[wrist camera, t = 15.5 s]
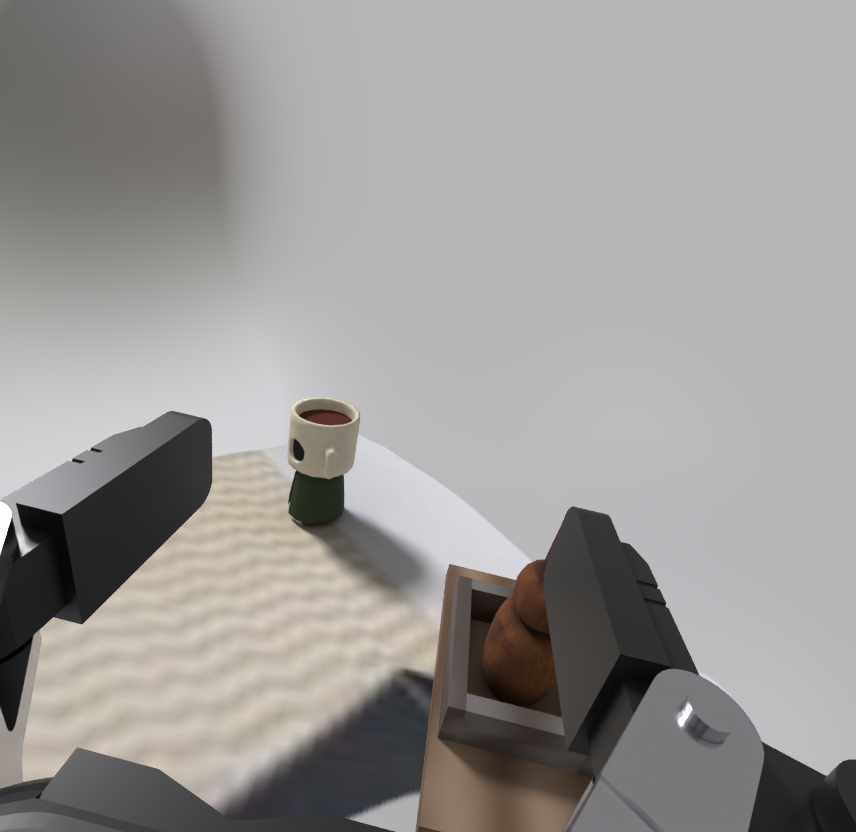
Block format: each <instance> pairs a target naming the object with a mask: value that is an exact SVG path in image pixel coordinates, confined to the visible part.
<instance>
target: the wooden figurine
mask: <svg viewBox="0 0 856 832" xmlns="http://www.w3.org/2000/svg"><path fill="white" fill-rule="evenodd" d="M560 528H561V527H560ZM559 530H560V529H559ZM558 533H559V531H558ZM558 533H557V535H558ZM557 535H556V538H557ZM556 538H555V539H554V541H553V543H552V546H551V548H550V550H549V552H548V555H547V556H546V559H545V560H536V561H534V562H532V563H530V564H528V565H527V566H526V567H525V568H524V569H523V570H522V571H521V572H520V574H519V575H518V577H517V580H516V582H515V585H514V589H513V594H512V595H511V596H509V597H508V598H507V599H506V600H505V601H504V603H503V604H502V605H501V607H500V608H499V610H498V611H497V613H496V615H495V617H494V619H493V622H492V624H491V626H490V629H489V631H488V634H487V637H486V640H485V645H484V652H483V671H484V674H485V677H486V680H487V682H488V684H489V687H490V688H491V689H492V690H493V692H494V693H495V694H496V695H497V696H498V697H499V698H501V699H502V700H504V701H506V702H507V703H509V704H512V705H516V706H519V707H521V706H527V705H531V704H535V703H537V702H539V701H540V700H542V699H543V698H544V697H545V696H546V695H547V694H548V693H549V691H550V690H551V688H552V687H553V685H554V684H555V682H556V680H557V679H556V672H555V665H554V659H553V652H552V645H551V638H550V631H549V625H548V618H547V611H546V604H545V597H544V590H543V580H544V572H545V567H546V563H547V560H548V558H549V555H550V553H551V550H552V548H553V545H554V543H555V540H556Z"/></svg>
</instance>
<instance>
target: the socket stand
mask: <svg viewBox="0 0 856 832" xmlns="http://www.w3.org/2000/svg"><path fill="white" fill-rule="evenodd" d="M515 582H516V580H513V579H509V578H505V577H501V576H496V575H492V574H488V573H484V572H480V571H476V570H472V569H468V568H464V567H459V566H455V565H451V564H449V568H448V571H447V575H446V583H445V591H444V599H443V608H442V616H441V624H440V633H439V641H438V649H437V658H436V666H435V674H434V683H433V691H432V699H431V707H430V716H429V724H428V732H427V741H426V749H425V757H424V766H423V774H422V782H421V791H420V799H419V808H418V816H417V824H416V832H562V830H563V828H564V826H565V825H566V823H567V821H568V819H569V818H570V816H571V814H572V812H573V811H574V809H575V807H576V805H577V804H578V802H579V800H580V798H581V797H582V795H583V793H584V792H585V790H586V788H587V786H588V785H589V783H590V781H591V780H592V778H593V777H594V770H593V764H592V759H591V756H587V755H583V754H579V753H575V752H571V751H567V747H566V740H565V734H564V727H563V720H562V713H561V706H560V700H559V693H558V686H557V680H556V682H555V684H554V685H553V687H552V688H551V690H550V691H549V693H548V694H547V695H546V696H545V697H544V698H543V699H542V700H540V701H539V702H537V703H535V704H531V705H527V706H521V707H519V706H516V705H512V704H509V703H507V702H506V701H504V700H502V699H501V698H499V697H498V696H497V695H496V694H495V693H494V692H493V690H492V689H491V688H490V687H489V684H488V682H487V680H486V677H485V674H484V671H483V652H484V645H485V640H486V637H487V634H488V631H489V629H490V626H491V624H492V622H493V619H494V617H495V615H496V613H497V611H498V610H499V608H500V607H501V605H502V604H503V603H504V601H505V600H506V599H507V598H508V597H509V596H511V595H512V594H513V589H514V585H515Z"/></svg>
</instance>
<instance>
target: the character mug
mask: <svg viewBox="0 0 856 832" xmlns="http://www.w3.org/2000/svg"><path fill="white" fill-rule="evenodd" d="M359 423H360V412H359V411H358V410H357V409H356V408H355V407H354V406H352V405H351V404H349V403H347V402H344V401H340V400H337V399H332V398H324V397H319V398H308V399H304V400H300V401H299V402H297V403H295V404H294V405H293V406H292V408H291V419H290V432H289V440H288V462H289V465H291V466H292V467H293V468H294V469H295V470H296V472H295V475H294V479H293V483H292V487H291V491H290V496H289V501H288V504H289V502H290V506H289V514H290V515H291V516H292V517H293V518H294V519H295V520H298V521H300V522H303V523H306V524H312V523H322V522H327V521H331V520H334V519H335V518H337V517H339V516H341V514H342V512H343V510H344V476H343V474H345V473H347V472H348V471H349V470H350V469H351V468H352V466H353V463H354V458H355V451H356V444H357V437H358V430H359Z"/></svg>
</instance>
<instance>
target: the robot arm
mask: <svg viewBox="0 0 856 832" xmlns="http://www.w3.org/2000/svg"><path fill="white" fill-rule="evenodd" d="M211 484H212V429H211V424H210V422H209V421H208V420H207V419H205V418H200V417H196V416H191V415H188V414H183V413H179V412H175V411H170V412H167V413H165V414H164V415H162V416H160V417H159V418H157V419H155V420H154V421H152V422H150V423H149V424H147V425H145V426H144V427H138V428H135V429H132V430H129V431H125V432H122V433H119V434H115V435H113V436H111V437H109V438H107V439H106V440H104V441H102V442H100V443H99V444H97V445H95V446H93V447H92V448H91V450H90V451H88V450H86V451H84V452H83V453H81V454H79V455H78V456H76V457H74V458H73V460H72V461H71V462H70V461H67V462H65V463H64V464H62V465H60V466H58V467H57V468H55V469H53V470H51V471H50V472H48V473H46V474H44V475H43V476H41V477H39V478H37V479H36V480H34V481H32V482H30V483H29V484H27V485H25V486H24V487H22V488H20V489H18V490H16V491H15V492H13V493H11V494H9V495H8V496H6V497H4V498H2V499H1V500H0V832H394V831H390V830H387V829H383V828H379V827H375V826H371V825H368V824H364V823H360V822H356V821H353V820H349V819H345V818H341V817H338V816H334V815H319V816H304V817H288V818H272V819H257V820H233V819H229V818H228V817H226V816H224V815H222V814H221V813H220V812H218V811H217V810H215V809H214V808H213V807H211V806H210V805H208V804H207V803H206V802H204V801H203V800H201V799H200V798H198V797H197V796H196V795H194V794H193V793H191V792H190V791H189V790H187V789H186V788H184V787H183V786H182V785H180V784H179V783H177V782H176V781H175V780H173V779H172V778H170V777H169V776H168V775H166V774H165V773H163V772H162V771H161V770H159V769H156V768H153V767H149V766H145V765H141V764H137V763H134V762H130V761H126V760H122V759H119V758H115V757H111V756H107V755H103V754H100V753H96V752H92V751H88V750H85V749H81V748H76V750H75V751H74V752H73V753H72V755H71V756H70V757H69V759H68V760H67V761H66V762H65V764H64V765H63V766H62V767H61V769H60V770H59V771H58V773H57V774H56V775H55V776H54V777H50V778H44V779H38V780H33V781H27V782H23V773H22V749H23V741H24V735H25V730H26V724H27V719H28V713H29V708H30V702H31V697H32V691H33V686H34V680H35V675H36V669H37V664H38V658H39V653H40V647H41V634H40V629H41V628H42V627H43V626H44V625H45V624H46V623H47V622H48V621H50V620H51V619H52V618H53V617H55V618H59V619H63V620H67V621H71V622H75V623H79V624H83V623H84V622H85V621H86V620H87V619H88V618H89V617H90V616H91V615H92V614H93V613H94V612H95V611H96V610H97V609H98V608H99V607H100V606H101V605H102V604H103V603H104V602H105V601H106V600H107V599H108V598H109V597H110V596H111V595H112V594H113V593H114V592H115V591H116V590H117V589H118V588H119V587H120V586H121V585H122V584H123V583H124V582H125V581H126V580H127V579H128V578H129V577H130V576H131V575H132V574H133V573H134V572H135V571H136V570H137V569H138V568H139V567H140V566H141V565H142V564H143V563H144V562H145V561H146V560H147V559H148V558H149V557H150V556H151V555H152V554H153V553H154V552H155V551H156V550H158V549H159V548H160V547H161V546H162V545H163V544H164V543H165V542H166V541H167V540H168V539H169V538H170V537H171V536H172V535H173V534H174V533H175V532H176V531H177V530H178V529H179V528H180V527H181V526H182V525H183V524H184V523H185V522H186V521H187V520H188V519H189V518H190V517H191V516H192V515H193V514H194V513H195V512H196V511H197V510H198V509H199V508H200V507H201V506H202V504H203V503H204V502H205V500H206V498H207V496H208V494H209V491H210V488H211ZM657 586H658V585H657V583H656V580H655V578H654V576H653V574H652V572H651V570H650V567H649V565H648V564H647V563H646V562H645V560H644V559H643V558H642V557H641V556H640V555H639V554H638V553H637V552H636V550H635V549H634V548H633V547H632V546H631V545H630V544H627V543H622V542H620V540H619V537H618V535H617V533H616V530H615V528H614V525H613V523H612V521H611V518H610V517H609V515H607V514H603V513H599V512H594V511H590V510H586V509H582V508H577V507H571V508H570V509H569V510H568V511H567V513H566V515H565V518H564V520H563V523H562V525H561V528H560V530H559V533H558V535H557V538H556V540H555V543H554V545H553V548H552V550H551V553H550V555H549V558H548V560H547V563H546V567H545V572H544V580H543V590H544V597H545V604H546V611H547V618H548V625H549V631H550V638H551V645H552V652H553V659H554V665H555V672H556V679H557V686H558V693H559V700H560V706H561V713H562V720H563V727H564V734H565V740H566V747H567V751H571V752H575V753H579V754H583V755H587V756H591V759H592V764H593V770H594V777H593V778H592V780H591V781H590V783H589V785H588V786H587V788H586V790H585V792H584V793H583V795H582V797H581V798H580V800H579V802H578V804H577V805H576V807H575V809H574V811H573V812H572V814H571V816H570V818H569V819H568V821H567V823H566V825H565V826H564V828H563V830H562V832H856V760H846V761H843V762H842V763H840V764H839V765H838V766H837V767H836V768H835V769H834V770H833V771H832V772H831V773H830V774H829V775H828V776H825V775H823V774H821V773H819V772H817V771H816V770H814V769H812V768H810V767H808V766H806V765H804V764H802V763H800V762H799V761H797V760H795V759H793V758H791V757H789V756H787V755H785V754H783V753H782V752H780V751H778V750H776V749H774V748H772V747H770V746H769V745H767V744H765V743H763V742H762V741H761V739H760V736H759V734H758V732H757V730H756V728H755V726H754V725H753V724H752V722H751V720H750V719H749V717H748V716H747V715H746V713H745V712H744V711H743V710H742V708H741V707H740V706H739V705H738V704H737V703H736V702H735V701H734V700H733V699H732V698H731V697H730V696H729V695H728V694H726V693H725V692H724V691H723V690H721V689H720V688H719V687H718V686H716V685H715V684H713V683H711V682H710V681H708V680H707V679H705V678H703V677H701V676H699V673H698V671H697V669H696V667H695V665H694V663H693V661H692V658H691V656H690V654H689V652H688V650H687V648H686V645H685V643H684V641H683V639H682V637H681V635H680V632H679V630H678V628H677V626H676V624H675V622H674V619H673V618H672V615H671V613H670V611H669V609H668V608H666V606H665V605H666V602H665V600H664V598H663V595H662V593H661V591H660V590H659V589H657Z"/></svg>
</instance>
